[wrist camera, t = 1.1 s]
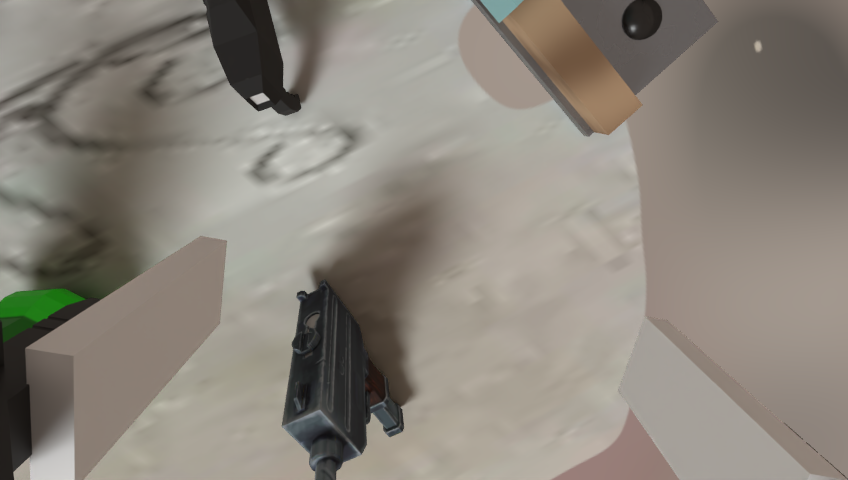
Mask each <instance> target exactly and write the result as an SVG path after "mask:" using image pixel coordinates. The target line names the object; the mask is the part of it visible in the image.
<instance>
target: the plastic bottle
mask: <svg viewBox="0 0 848 480" xmlns="http://www.w3.org/2000/svg"><path fill="white" fill-rule="evenodd" d="M82 300H85V299H84V298H83V297H81V296H79V295H77V294H75V293H73V292H71V291H68V290H66V289H48V290H34V291H20V292H15V293H13V294H11V295H9V296H7V297H5V298H4V299H3V300H1V301H0V320H1V321H2V330H3V343H4V342H5V341H7V340H9V339H10V338H12V337H14V336H15V335H17V334H19V333H21V332H22V331H24V330H26V329H27V328H32V326H33V325H34V324H36V323H37V322H39V321H41V320H43V319H44V318H45V319H47V318H48V316H49V315H51V314H53V313H54V312H56V311H58V310H59V309H61V308H63V307H64V306H66V305H69V304H72V303H76V302H79V301H82Z"/></svg>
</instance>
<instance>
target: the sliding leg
mask: <svg viewBox="0 0 848 480" xmlns="http://www.w3.org/2000/svg"><path fill="white" fill-rule="evenodd" d="M480 1H481V2H482V3H483V4H484V6H485V7H486V8H487V9H488V10H489V12H490V13H491V14H492V15H493V17H494V18H495V19H496V20H497V21H498V23H500V22H501V21H502V20H503V19H504V18H505V17H507V16H508V15H509V14H510V13H511V12H512V11H513V10H514V9H515V8H516V7H517V6H518V5H519V4H520V3H521V2H522V1H524V0H480Z"/></svg>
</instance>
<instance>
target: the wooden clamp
mask: <svg viewBox="0 0 848 480" xmlns="http://www.w3.org/2000/svg"><path fill="white" fill-rule="evenodd" d="M502 21H503V22H504V23H505V25H506V26H507V27H508V28H509V30H510V31H511V32H512V33H513V34H514V36H515V37H516V38H517V39H518V40H519V42H520V43H521V44H522V45H523V47H524V48H525V49H526V50H527V51H528V53H529V54H530V55H531V56H532V57H533V59H534V60H535V61H536V62H537V63H538V65H539V66H540V67H541V68H542V70H543V71H544V72H545V73H546V74H547V76H548V77H549V78H550V79H551V80H552V82H553V83H554V84H555V85H556V87H557V88H558V89H559V90H560V91H561V93H562V94H563V95H564V96H565V97H566V99H567V100H568V101H569V102H570V104H571V105H572V106H573V107H574V108H575V110H576V111H577V112H578V113H579V114H580V116H581V117H582V118H583V119H584V121H585V122H586V123H587V124H588V125H589V127H590V128H591V129H592V130H593V131H594V132H596V133H602V134H607V135H609V134H610V133H611V132H613V131H614V130H615V129H616V128H617V127H618V126H619V125H621V124H622V123H623V122H624V121H625V120H626V119H627V118H628V117H630V116H631V115H632V114H633V113H634V112H635V111H636V110H638V109H639V108H640V107H641V106H642V104H641V102H640V101H639V100H638V98H637V97H636V96H635V95H634V93H633V92H632V91H631V89H630V88H629V87H628V86H627V84H626V83H625V82H624V80H623V79H622V78H621V77H620V75H619V74H618V73H617V72H616V70H615V69H614V68H613V66H612V65H611V64H610V63H609V61H608V60H607V59H606V57H605V56H604V55H603V54H602V52H601V51H600V50H599V48H598V47H597V46H596V45H595V43H594V42H593V41H592V40H591V38H590V37H589V36H588V34H587V33H586V32H585V31H584V29H583V28H582V27H581V25H580V24H579V23H578V22H577V20H576V19H575V18H574V16H573V15H572V14H571V13H570V11H569V10H568V9H567V8H566V6H565V5H564V4H563V2H562V1H561V0H524V1H522V2H521V3H520V4H519V5H518V6H517V7H516V8H515V9H514V10H513V11H512V12H511V13H510V14H509V15H508V16H507V17H505V18H504V19H503V20H502Z"/></svg>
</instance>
